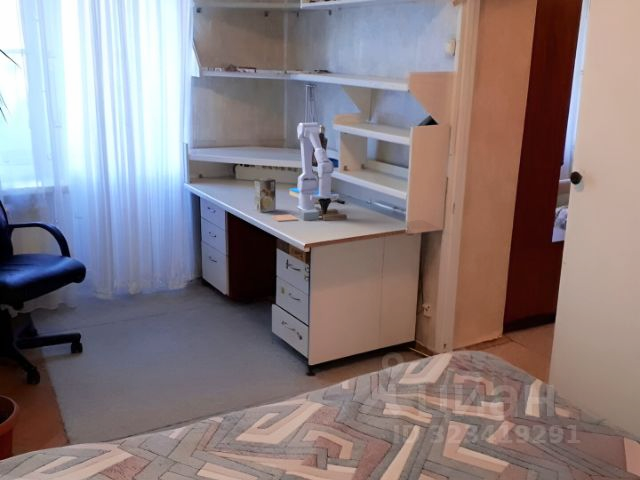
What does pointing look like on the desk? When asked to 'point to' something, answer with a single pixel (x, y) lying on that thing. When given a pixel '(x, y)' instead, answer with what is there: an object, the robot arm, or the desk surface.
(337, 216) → the pair of brown bars
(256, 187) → the coffee box
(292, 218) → the tile
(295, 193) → the book
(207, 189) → the desk surface
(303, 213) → the block
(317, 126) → the robot arm
